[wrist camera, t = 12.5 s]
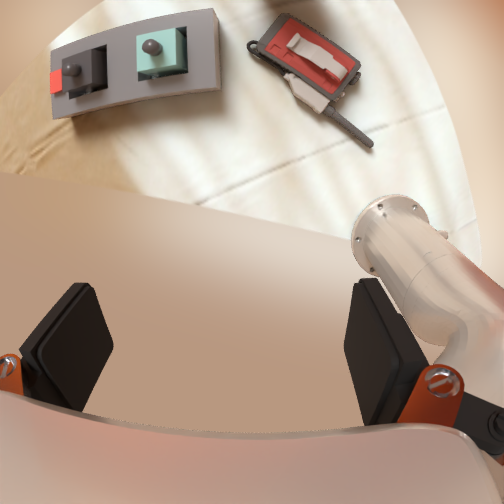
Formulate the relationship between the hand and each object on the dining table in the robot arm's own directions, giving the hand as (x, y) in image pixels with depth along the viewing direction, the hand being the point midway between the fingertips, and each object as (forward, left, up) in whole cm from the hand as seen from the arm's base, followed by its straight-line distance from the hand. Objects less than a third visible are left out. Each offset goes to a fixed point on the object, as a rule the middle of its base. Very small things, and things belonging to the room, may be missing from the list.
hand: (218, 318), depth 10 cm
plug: (+9, -15, -30) cm, 35 cm away
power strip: (+14, -15, -30) cm, 37 cm away
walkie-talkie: (-10, -11, -31) cm, 34 cm away
